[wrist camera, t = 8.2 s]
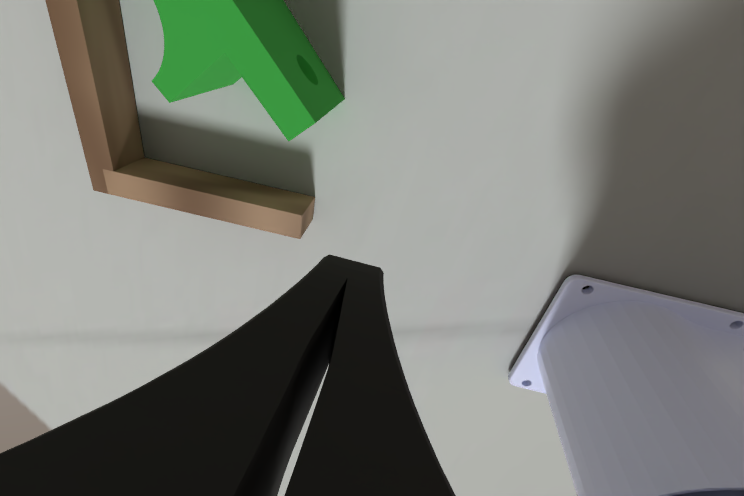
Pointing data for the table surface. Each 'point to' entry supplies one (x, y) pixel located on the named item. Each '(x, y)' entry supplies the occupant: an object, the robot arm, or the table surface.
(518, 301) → the table surface
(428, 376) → the table surface
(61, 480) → the robot arm
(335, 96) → the pipe clamp
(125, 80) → the walnut bay
